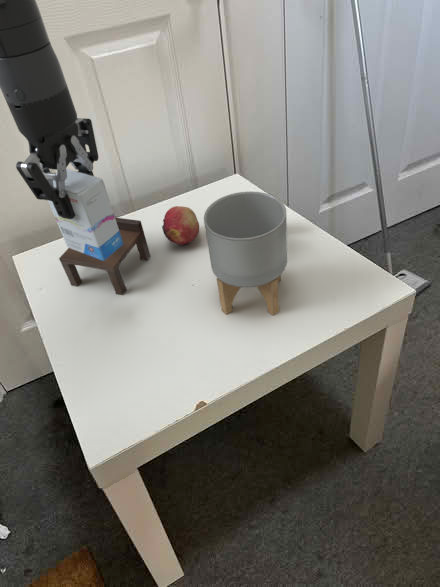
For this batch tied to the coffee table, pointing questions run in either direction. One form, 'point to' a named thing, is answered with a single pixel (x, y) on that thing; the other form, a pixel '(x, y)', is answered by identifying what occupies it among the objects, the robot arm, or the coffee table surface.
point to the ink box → (89, 217)
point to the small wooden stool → (130, 236)
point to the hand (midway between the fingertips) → (80, 205)
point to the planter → (247, 245)
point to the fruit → (180, 225)
